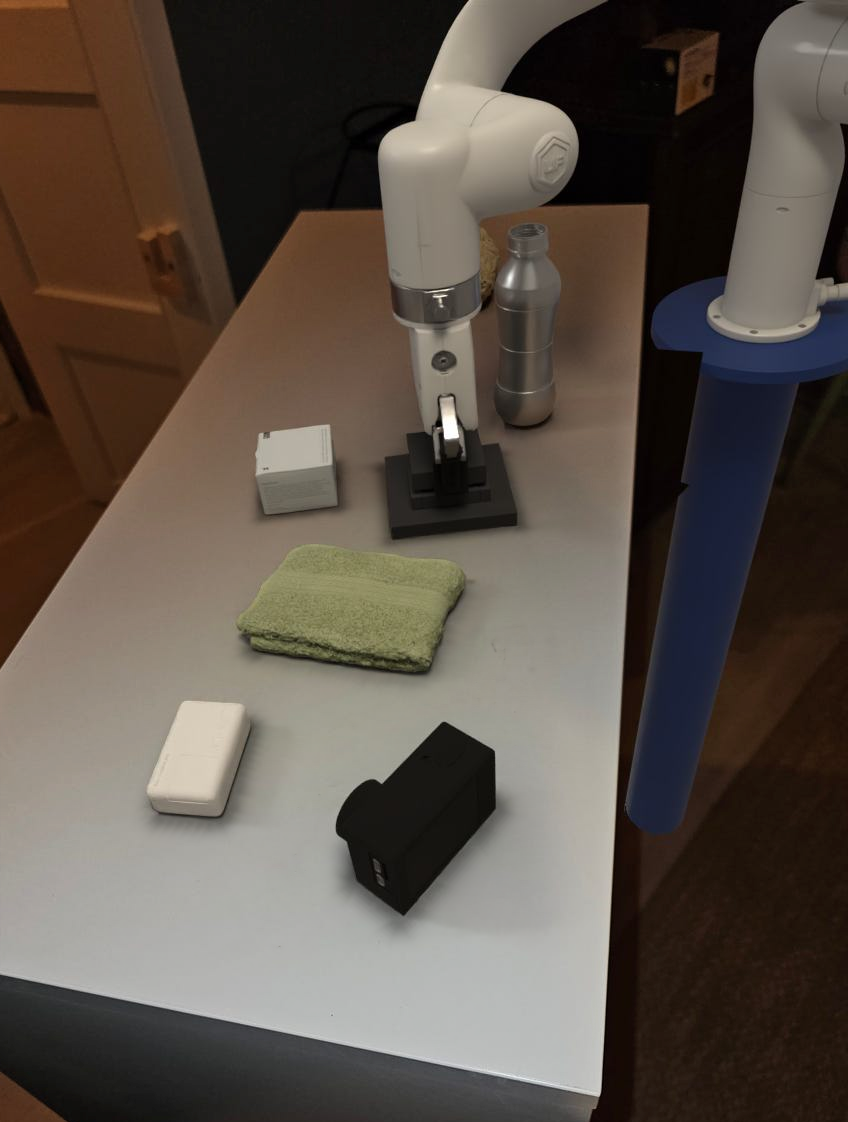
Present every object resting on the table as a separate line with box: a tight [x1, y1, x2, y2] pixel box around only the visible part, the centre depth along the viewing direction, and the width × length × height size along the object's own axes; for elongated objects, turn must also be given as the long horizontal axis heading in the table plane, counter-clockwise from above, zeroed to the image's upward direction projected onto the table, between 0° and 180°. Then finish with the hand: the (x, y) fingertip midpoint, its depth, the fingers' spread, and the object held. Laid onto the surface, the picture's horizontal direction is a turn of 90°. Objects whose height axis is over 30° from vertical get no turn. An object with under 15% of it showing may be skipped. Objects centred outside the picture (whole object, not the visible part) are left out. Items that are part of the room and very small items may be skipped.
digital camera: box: [335, 721, 497, 917], centre depth 57 cm, size 10×5×7 cm, turn 139°
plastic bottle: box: [492, 222, 563, 427], centre depth 88 cm, size 6×7×20 cm
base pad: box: [384, 442, 518, 540], centre depth 86 cm, size 12×12×3 cm
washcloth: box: [235, 543, 467, 673], centre depth 75 cm, size 13×18×3 cm
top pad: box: [406, 426, 487, 491], centre depth 84 cm, size 7×7×4 cm
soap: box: [146, 700, 252, 818], centre depth 65 cm, size 9×6×3 cm, turn 171°
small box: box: [254, 424, 339, 516], centre depth 89 cm, size 8×8×5 cm
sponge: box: [480, 226, 501, 306], centre depth 118 cm, size 13×8×20 cm
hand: (446, 464), depth 84 cm, fingers open, 9 cm apart
